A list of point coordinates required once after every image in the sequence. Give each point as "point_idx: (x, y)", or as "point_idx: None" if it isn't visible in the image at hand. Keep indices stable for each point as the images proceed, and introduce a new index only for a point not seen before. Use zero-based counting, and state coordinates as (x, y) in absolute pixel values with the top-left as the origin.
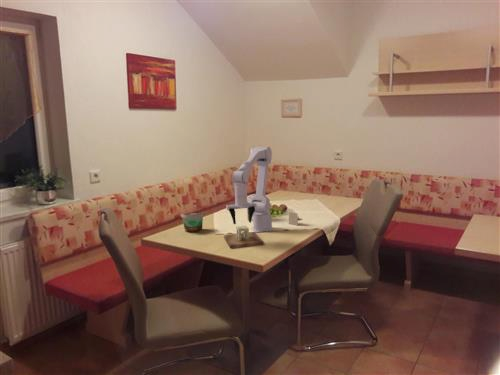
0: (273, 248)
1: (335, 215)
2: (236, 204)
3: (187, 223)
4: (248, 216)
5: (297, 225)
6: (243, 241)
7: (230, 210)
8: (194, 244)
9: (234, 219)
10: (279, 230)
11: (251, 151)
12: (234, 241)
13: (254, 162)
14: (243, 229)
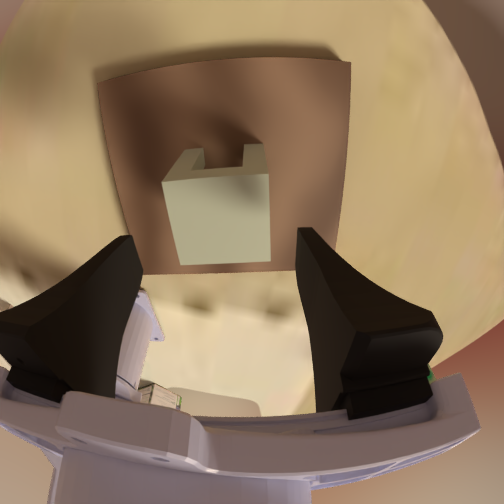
0: (68, 14)
1: None
2: (307, 501)
3: (431, 371)
4: (176, 407)
5: (10, 305)
6: (234, 109)
7: (415, 374)
8: (472, 216)
9: (325, 253)
10: (48, 282)
11: None
12: (301, 131)
13: None
14: (215, 175)
